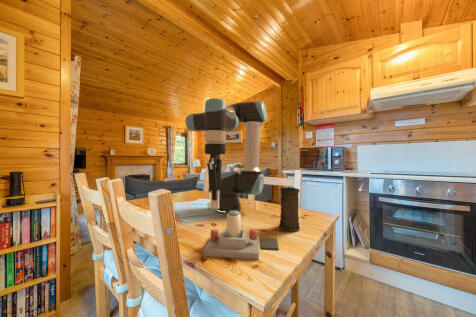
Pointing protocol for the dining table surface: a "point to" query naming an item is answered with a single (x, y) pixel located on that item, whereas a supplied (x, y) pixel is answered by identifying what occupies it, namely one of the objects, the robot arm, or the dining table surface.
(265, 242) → the mat
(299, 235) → the dining table surface
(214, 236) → the plunger
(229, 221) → the cylinder
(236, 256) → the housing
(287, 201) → the container
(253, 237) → the plunger
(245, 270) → the dining table surface
